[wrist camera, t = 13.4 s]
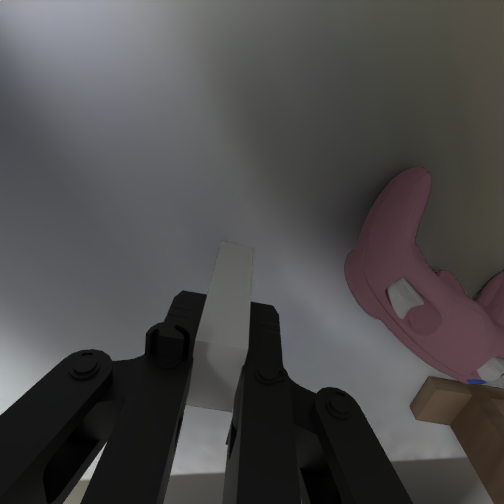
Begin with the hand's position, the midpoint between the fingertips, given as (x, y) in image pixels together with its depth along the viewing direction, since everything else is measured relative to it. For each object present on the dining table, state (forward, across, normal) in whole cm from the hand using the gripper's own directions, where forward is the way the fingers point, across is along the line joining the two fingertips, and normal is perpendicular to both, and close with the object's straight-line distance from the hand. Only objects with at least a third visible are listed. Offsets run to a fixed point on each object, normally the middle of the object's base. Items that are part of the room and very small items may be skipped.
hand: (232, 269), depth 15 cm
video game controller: (+2, +10, +2) cm, 10 cm away
